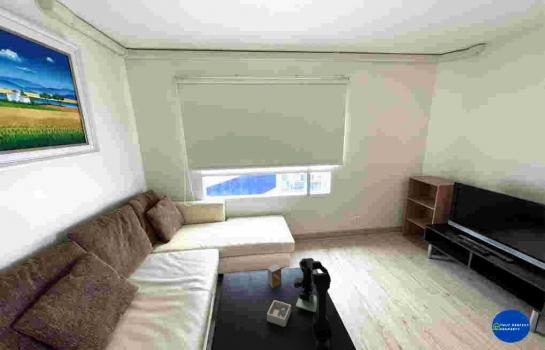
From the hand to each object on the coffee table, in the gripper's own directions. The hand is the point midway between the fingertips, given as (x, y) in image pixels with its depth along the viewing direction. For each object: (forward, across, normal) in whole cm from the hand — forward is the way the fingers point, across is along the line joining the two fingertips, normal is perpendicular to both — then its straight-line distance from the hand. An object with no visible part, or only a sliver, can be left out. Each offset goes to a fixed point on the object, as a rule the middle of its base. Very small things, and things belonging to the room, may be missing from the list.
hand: (307, 299), depth 134 cm
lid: (+3, 0, 0) cm, 3 cm away
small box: (+5, -11, -27) cm, 30 cm away
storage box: (+4, +14, -14) cm, 20 cm away
